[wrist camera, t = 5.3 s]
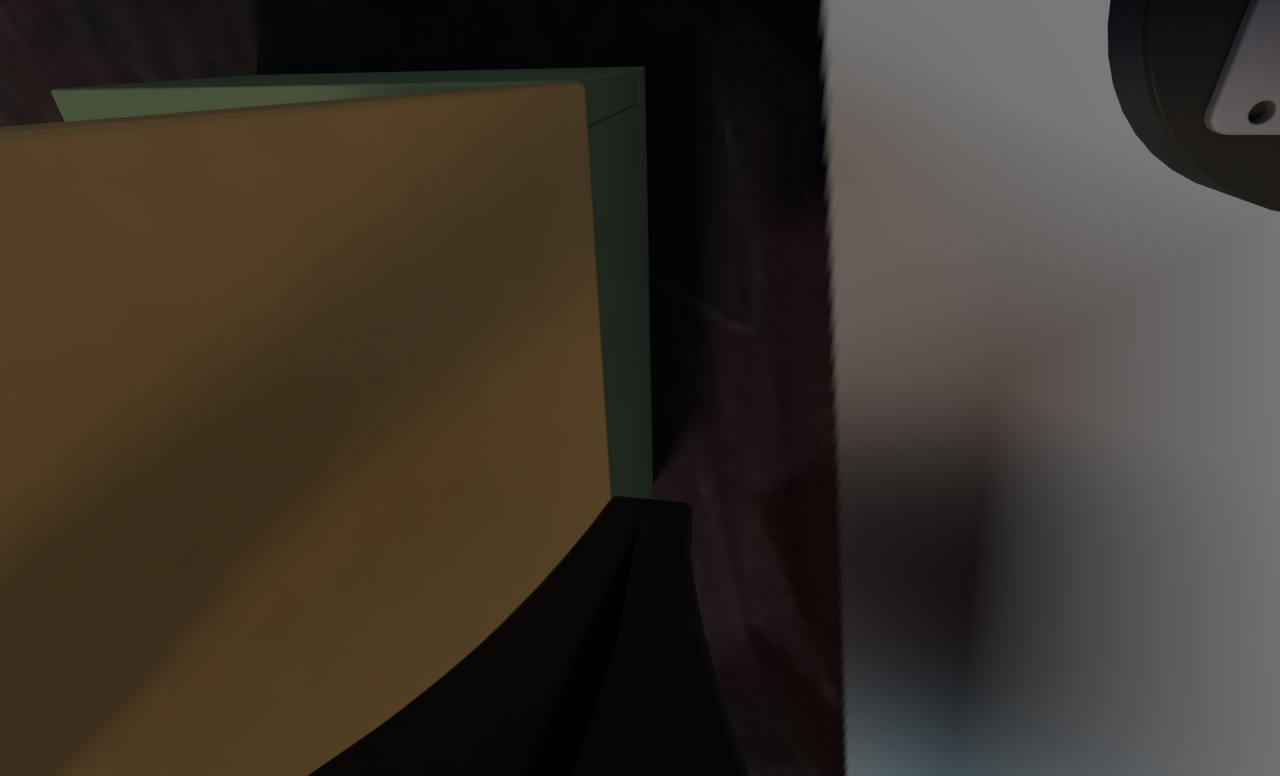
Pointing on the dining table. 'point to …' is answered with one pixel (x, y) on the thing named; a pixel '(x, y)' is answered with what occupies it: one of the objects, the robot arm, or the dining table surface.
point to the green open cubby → (614, 197)
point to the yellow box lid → (284, 417)
